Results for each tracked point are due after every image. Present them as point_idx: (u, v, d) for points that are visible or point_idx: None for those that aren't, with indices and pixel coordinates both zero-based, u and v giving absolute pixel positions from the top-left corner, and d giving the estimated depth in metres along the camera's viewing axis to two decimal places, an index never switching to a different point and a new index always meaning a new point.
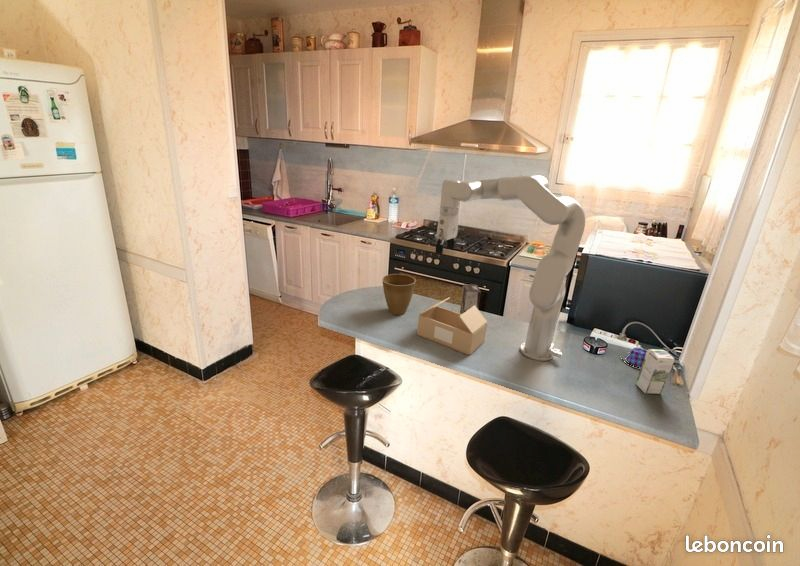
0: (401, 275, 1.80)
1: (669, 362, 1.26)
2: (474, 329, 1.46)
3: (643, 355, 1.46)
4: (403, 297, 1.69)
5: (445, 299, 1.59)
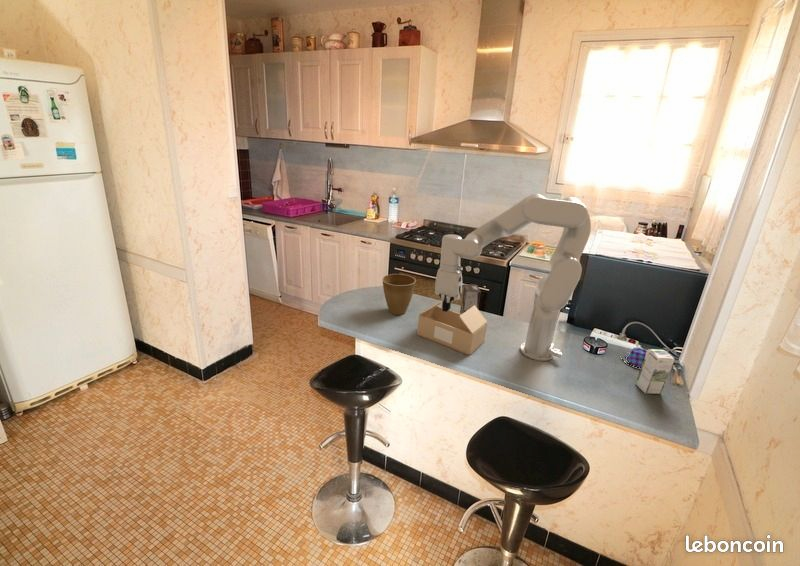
0: (401, 275, 1.80)
1: (669, 362, 1.26)
2: (474, 329, 1.46)
3: (644, 355, 1.46)
4: (403, 297, 1.69)
5: None
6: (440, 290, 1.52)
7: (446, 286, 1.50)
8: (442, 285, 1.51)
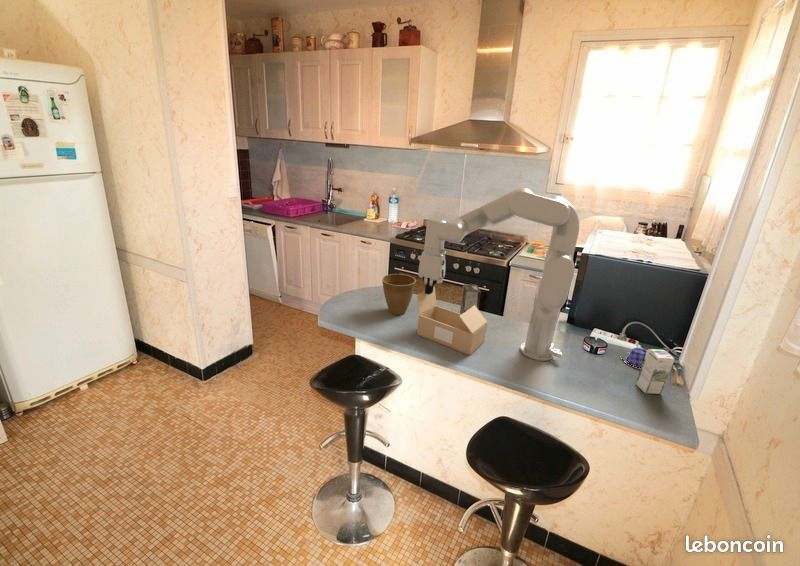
0: (401, 275, 1.80)
1: (669, 362, 1.26)
2: (474, 329, 1.46)
3: (644, 355, 1.46)
4: (403, 297, 1.69)
5: None
6: (423, 273, 1.55)
7: (429, 269, 1.52)
8: (425, 268, 1.53)
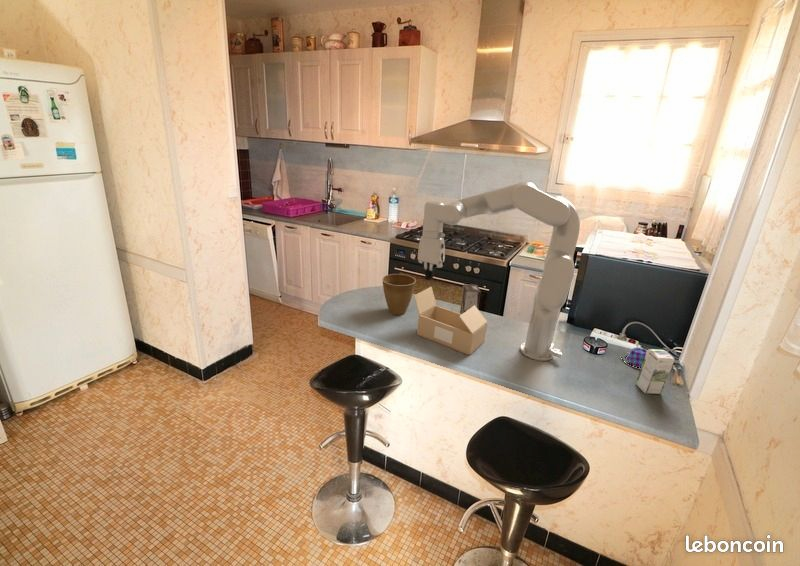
0: (401, 275, 1.80)
1: (669, 362, 1.26)
2: (474, 329, 1.46)
3: (644, 355, 1.46)
4: (403, 297, 1.69)
5: None
6: (422, 257, 1.53)
7: (429, 253, 1.50)
8: (425, 252, 1.51)
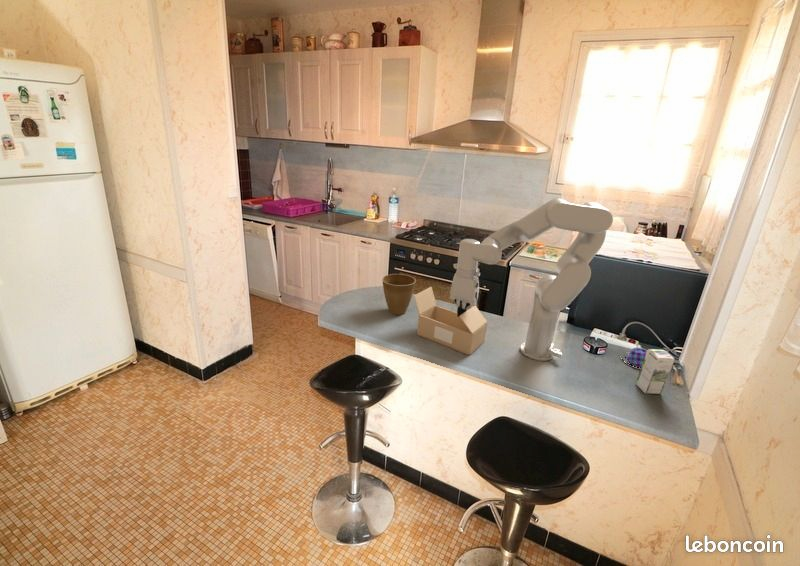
0: (401, 275, 1.80)
1: (669, 362, 1.26)
2: (474, 329, 1.46)
3: None
4: (403, 297, 1.69)
5: None
6: (455, 295, 1.49)
7: (462, 292, 1.46)
8: (458, 290, 1.47)
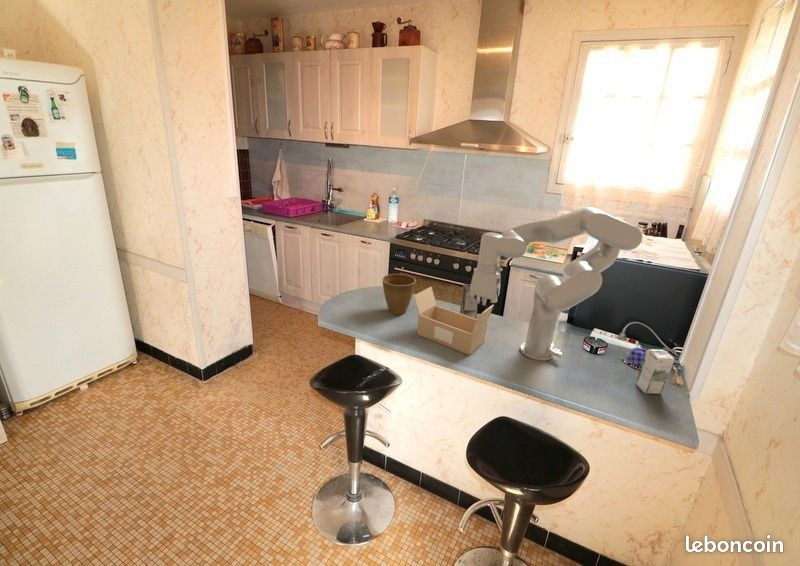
0: (401, 275, 1.80)
1: (669, 362, 1.26)
2: (476, 330, 1.45)
3: None
4: (403, 297, 1.69)
5: None
6: (475, 291, 1.43)
7: (483, 287, 1.40)
8: (479, 286, 1.41)
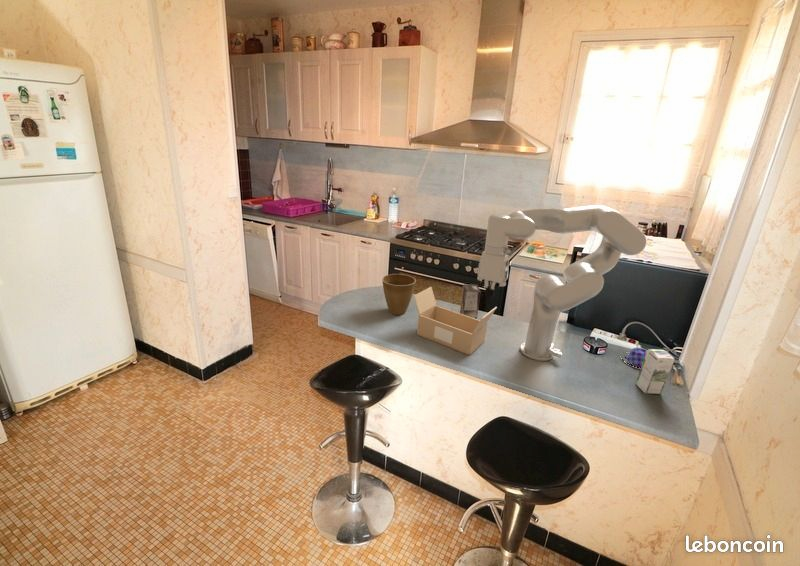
0: (401, 275, 1.80)
1: (669, 362, 1.26)
2: (476, 330, 1.45)
3: None
4: (403, 297, 1.69)
5: None
6: (483, 275, 1.39)
7: (491, 271, 1.37)
8: (487, 270, 1.38)
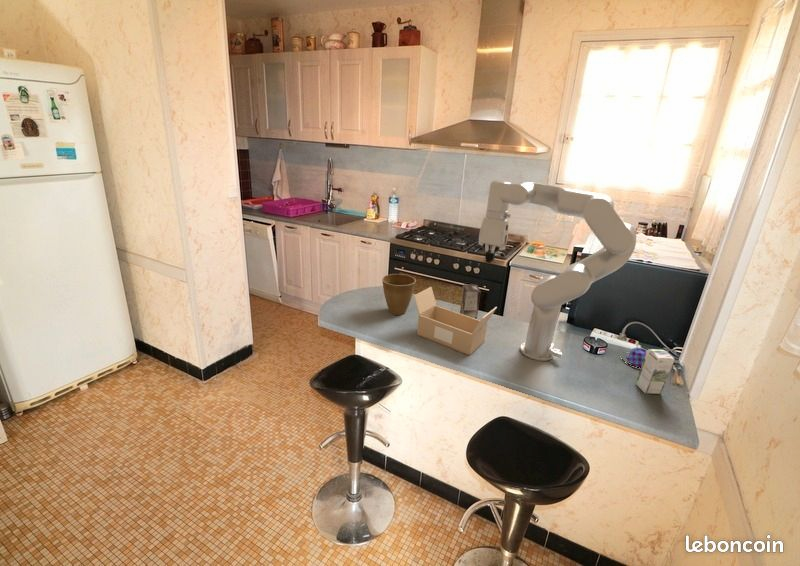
0: (401, 275, 1.80)
1: (669, 362, 1.26)
2: (476, 330, 1.45)
3: None
4: (403, 297, 1.69)
5: None
6: (484, 239, 1.48)
7: (492, 235, 1.45)
8: (487, 234, 1.46)
